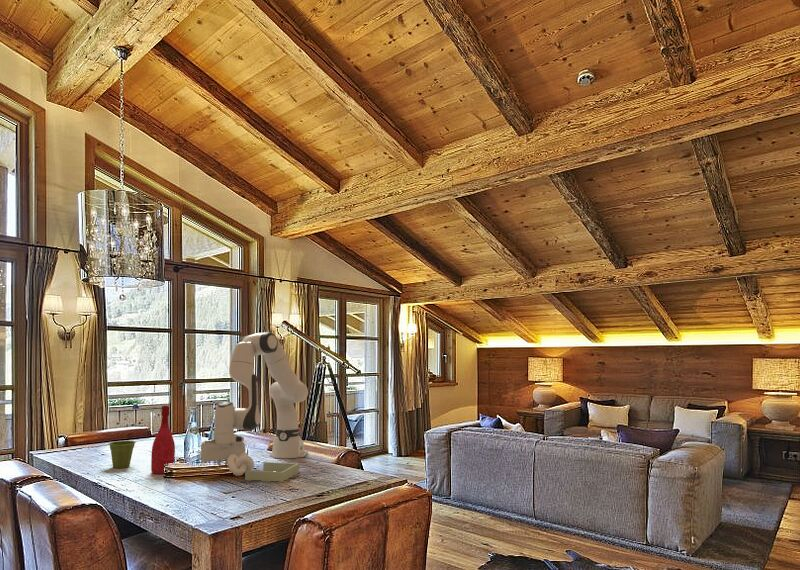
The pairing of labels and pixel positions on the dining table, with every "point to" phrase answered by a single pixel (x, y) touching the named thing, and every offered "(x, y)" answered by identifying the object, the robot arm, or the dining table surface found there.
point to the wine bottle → (162, 445)
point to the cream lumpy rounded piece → (240, 463)
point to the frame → (268, 475)
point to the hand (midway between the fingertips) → (222, 469)
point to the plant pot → (121, 453)
